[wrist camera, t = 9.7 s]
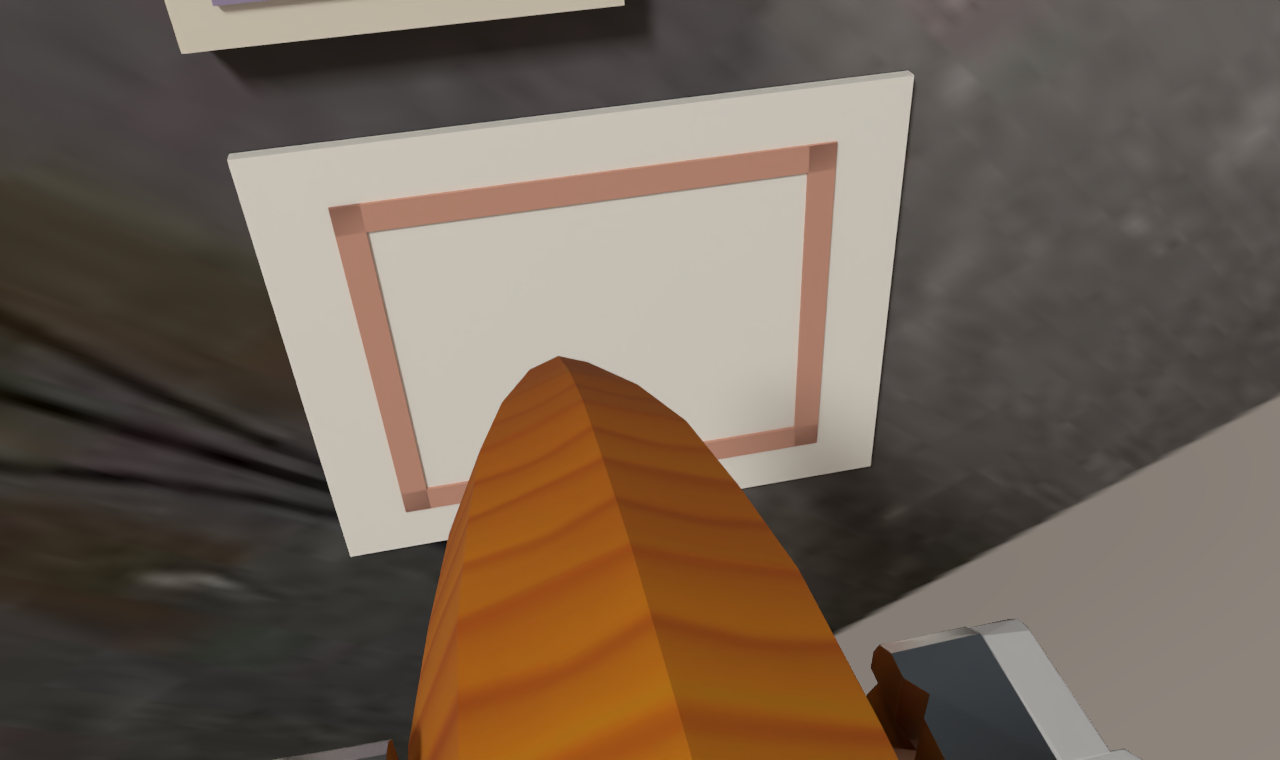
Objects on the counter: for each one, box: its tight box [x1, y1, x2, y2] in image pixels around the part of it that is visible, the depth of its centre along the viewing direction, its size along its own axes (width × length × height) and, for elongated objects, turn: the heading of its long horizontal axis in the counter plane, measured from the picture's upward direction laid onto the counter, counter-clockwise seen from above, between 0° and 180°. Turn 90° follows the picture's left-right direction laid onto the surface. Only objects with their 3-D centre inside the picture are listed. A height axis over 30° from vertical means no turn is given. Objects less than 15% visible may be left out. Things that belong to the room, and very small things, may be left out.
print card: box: [227, 71, 914, 557], centre depth 31 cm, size 18×14×1 cm
